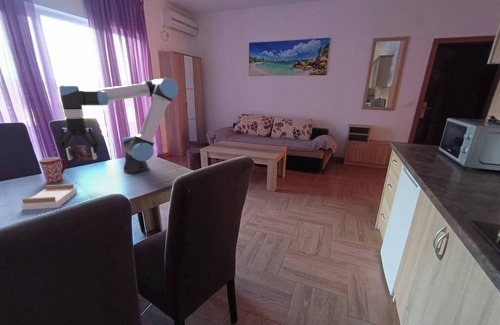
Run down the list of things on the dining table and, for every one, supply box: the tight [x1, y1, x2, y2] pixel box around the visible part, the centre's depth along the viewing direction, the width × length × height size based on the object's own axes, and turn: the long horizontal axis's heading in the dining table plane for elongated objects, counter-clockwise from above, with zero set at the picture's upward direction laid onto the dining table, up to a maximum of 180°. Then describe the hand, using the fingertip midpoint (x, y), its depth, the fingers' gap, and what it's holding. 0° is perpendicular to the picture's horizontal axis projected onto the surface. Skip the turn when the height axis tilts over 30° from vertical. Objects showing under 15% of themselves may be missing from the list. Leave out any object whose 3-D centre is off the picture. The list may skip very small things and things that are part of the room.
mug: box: [38, 156, 67, 184], centre depth 131 cm, size 13×9×14 cm
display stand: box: [20, 183, 78, 211], centre depth 107 cm, size 14×16×5 cm
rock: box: [69, 144, 93, 162], centre depth 119 cm, size 12×9×10 cm
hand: (83, 159), depth 119 cm, fingers closed on rock, 11 cm apart
